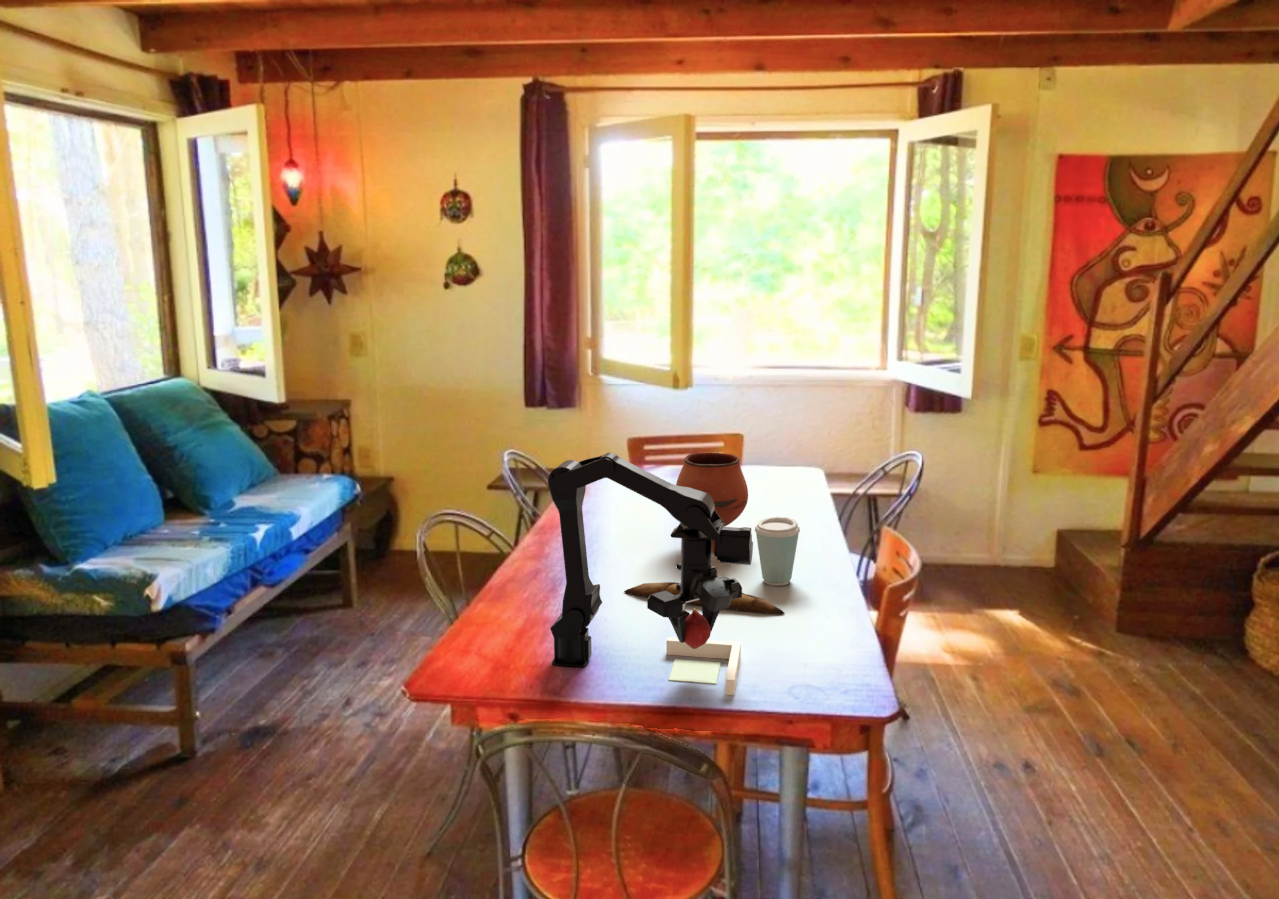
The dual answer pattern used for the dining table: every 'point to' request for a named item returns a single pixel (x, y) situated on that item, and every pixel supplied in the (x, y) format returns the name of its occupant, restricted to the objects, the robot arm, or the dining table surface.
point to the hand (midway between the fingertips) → (694, 638)
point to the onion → (696, 630)
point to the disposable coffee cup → (777, 548)
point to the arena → (705, 662)
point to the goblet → (717, 482)
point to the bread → (740, 604)
